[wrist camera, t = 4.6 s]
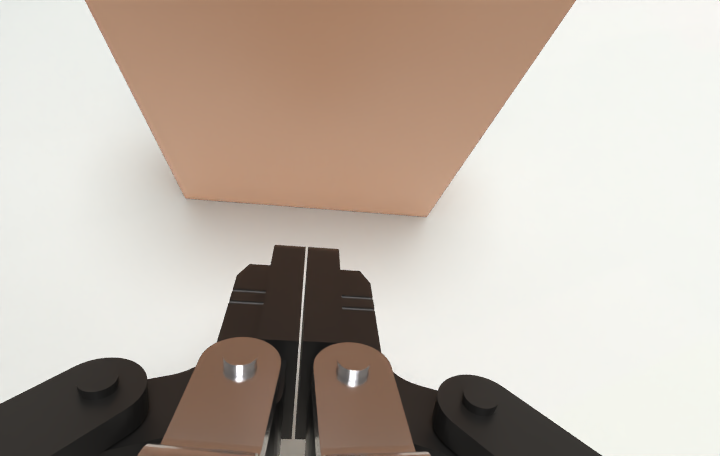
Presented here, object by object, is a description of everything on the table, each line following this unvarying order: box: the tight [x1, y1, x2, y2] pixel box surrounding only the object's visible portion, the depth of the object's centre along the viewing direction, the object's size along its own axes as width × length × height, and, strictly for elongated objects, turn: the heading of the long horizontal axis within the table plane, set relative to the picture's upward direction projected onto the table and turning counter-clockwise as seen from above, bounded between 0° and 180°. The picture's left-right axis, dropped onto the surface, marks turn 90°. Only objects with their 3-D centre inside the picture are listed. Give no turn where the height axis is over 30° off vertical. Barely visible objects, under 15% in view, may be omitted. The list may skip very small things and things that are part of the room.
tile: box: [85, 0, 576, 217], centre depth 15 cm, size 10×3×14 cm, turn 88°
